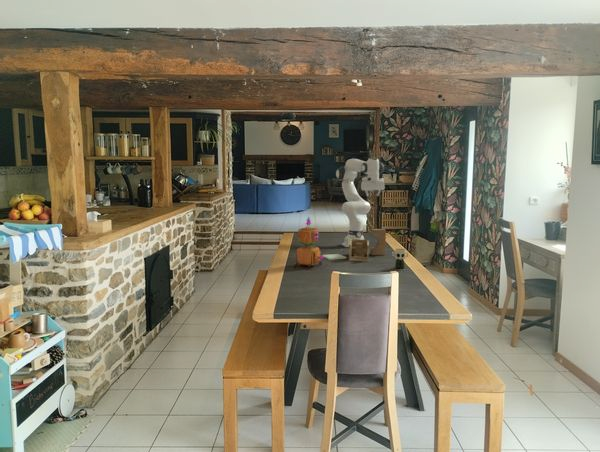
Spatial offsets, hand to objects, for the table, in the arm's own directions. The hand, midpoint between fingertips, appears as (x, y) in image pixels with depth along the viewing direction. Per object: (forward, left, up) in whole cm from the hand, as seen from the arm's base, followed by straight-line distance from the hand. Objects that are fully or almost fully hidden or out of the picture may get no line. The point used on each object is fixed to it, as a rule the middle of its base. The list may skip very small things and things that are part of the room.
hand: (372, 196), depth 391 cm
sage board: (+8, -36, -46) cm, 59 cm away
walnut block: (+14, -18, -44) cm, 49 cm away
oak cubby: (+14, -18, -46) cm, 51 cm away
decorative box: (+32, -64, -46) cm, 85 cm away
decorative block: (+7, +2, -46) cm, 47 cm away
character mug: (+56, -8, -46) cm, 73 cm away
